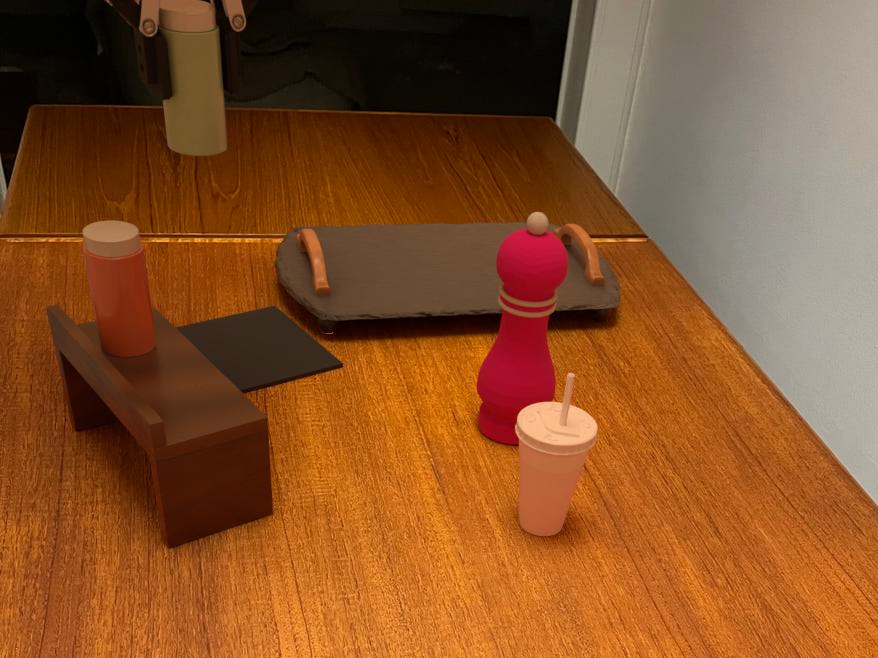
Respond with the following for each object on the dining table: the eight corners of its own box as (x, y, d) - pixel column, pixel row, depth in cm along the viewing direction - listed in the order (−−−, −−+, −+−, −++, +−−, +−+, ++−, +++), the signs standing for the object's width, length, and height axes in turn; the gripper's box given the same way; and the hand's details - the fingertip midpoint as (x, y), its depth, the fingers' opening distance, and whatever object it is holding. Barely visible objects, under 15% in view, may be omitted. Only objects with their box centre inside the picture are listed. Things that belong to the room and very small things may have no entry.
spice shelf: (273, 513, 82) (266, 393, 74) (168, 548, 77) (150, 424, 70) (168, 400, 93) (152, 285, 85) (71, 425, 88) (45, 306, 81)
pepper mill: (561, 424, 96) (598, 212, 82) (526, 457, 91) (558, 238, 78) (496, 399, 98) (521, 188, 85) (458, 430, 94) (477, 212, 80)
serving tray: (293, 345, 102) (291, 286, 98) (263, 250, 118) (260, 196, 114) (641, 327, 112) (652, 274, 108) (571, 242, 128) (578, 192, 124)
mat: (213, 401, 93) (212, 397, 93) (149, 336, 101) (149, 333, 101) (343, 366, 100) (343, 363, 100) (274, 308, 108) (274, 305, 107)
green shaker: (182, 159, 74) (167, 15, 67) (158, 139, 76) (141, -2, 70) (237, 152, 76) (228, 12, 69) (212, 133, 78) (201, -4, 72)
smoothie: (538, 555, 81) (564, 402, 71) (487, 515, 84) (505, 363, 75) (594, 529, 84) (626, 379, 75) (543, 491, 88) (567, 343, 78)
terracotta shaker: (113, 362, 79) (93, 246, 73) (91, 338, 82) (70, 224, 75) (166, 349, 81) (151, 236, 75) (143, 327, 84) (127, 215, 78)
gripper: (261, -238, 67) (273, 68, 79) (-2, -258, 59) (58, 85, 71) (317, -223, 63) (320, 97, 75) (42, -243, 55) (97, 119, 67)
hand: (192, 88), depth 73 cm, fingers closed on green shaker, 4 cm apart
